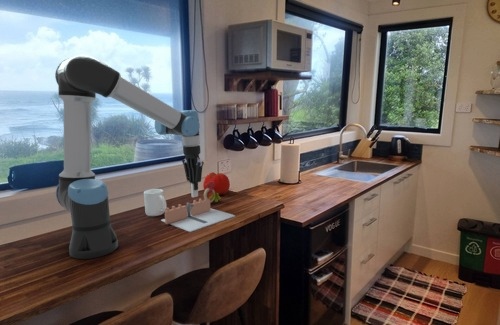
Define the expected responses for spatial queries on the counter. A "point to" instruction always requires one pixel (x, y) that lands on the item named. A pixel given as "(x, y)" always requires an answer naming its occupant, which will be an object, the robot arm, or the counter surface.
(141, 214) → the counter surface
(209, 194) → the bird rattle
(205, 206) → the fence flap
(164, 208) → the mug
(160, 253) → the counter surface
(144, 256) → the counter surface
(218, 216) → the card
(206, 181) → the tomato
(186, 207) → the fence fixed
